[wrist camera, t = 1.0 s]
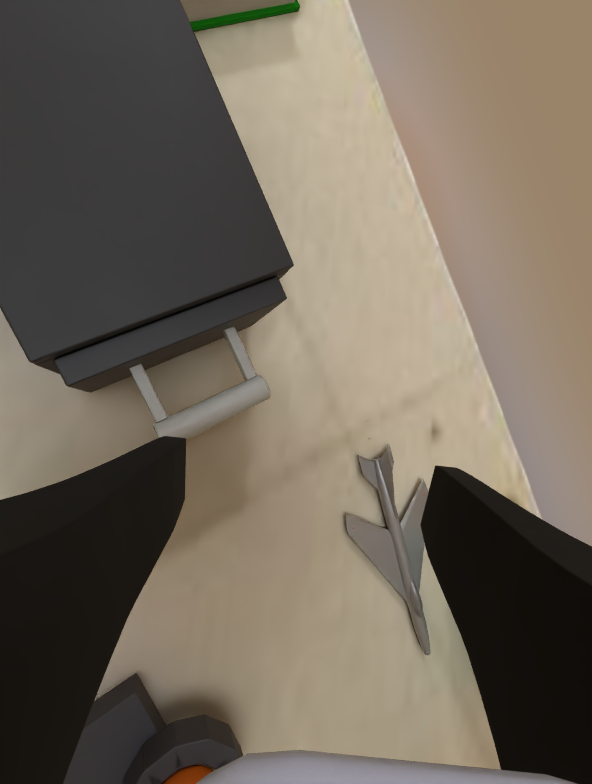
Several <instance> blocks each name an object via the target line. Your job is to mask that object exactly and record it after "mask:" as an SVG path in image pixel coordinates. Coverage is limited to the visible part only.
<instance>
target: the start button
mask: <svg viewBox="0 0 592 784" xmlns="http://www.w3.org/2000/svg"><path fill="white" fill-rule="evenodd" d="M211 772H213V770H212V769H210V768H209V767H207V766H204V765H191V766H187V767H184V768H182V769H180V770H178V771H176V772H175V773H174V774H172V775H171V776H170V777H169V778H168V779H167V780H166V781H165V782H164V783H163V784H196V783H197V782H199V781H200V780H201V779H202V778H204V777H205V776H206V775H207V774H209V773H211Z"/></svg>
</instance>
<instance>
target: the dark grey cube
mask: <svg viewBox="0 0 592 784" xmlns="http://www.w3.org/2000/svg"><path fill="white" fill-rule="evenodd" d="M292 266H293V262H292V259H291V257H290V255H289V252H288V250H287V248H286V245H285V243H284V241H283V238H282V236H281V234H280V231H279V229H278V227H277V224H276V222H275V220H274V217H273V215H272V213H271V210H270V208H269V206H268V203H267V201H266V199H265V197H264V194H263V192H262V190H261V187H260V185H259V183H258V180H257V178H256V176H255V173H254V171H253V169H252V166H251V164H250V162H249V159H248V157H247V155H246V152H245V150H244V148H243V145H242V143H241V141H240V138H239V136H238V134H237V131H236V129H235V127H234V124H233V122H232V120H231V117H230V115H229V113H228V110H227V108H226V106H225V103H224V101H223V99H222V96H221V94H220V92H219V89H218V87H217V85H216V82H215V80H214V78H213V76H212V73H211V71H210V69H209V66H208V64H207V62H206V59H205V57H204V55H203V52H202V50H201V48H200V45H199V43H198V41H197V38H196V36H195V34H194V31H193V29H192V27H191V24H190V22H189V20H188V17H187V15H186V13H185V10H184V8H183V6H182V3H181V1H180V0H0V308H1V310H2V312H3V314H4V316H5V318H6V319H7V321H8V323H9V325H10V327H11V329H12V331H13V332H14V334H15V336H16V338H17V340H18V342H19V344H20V345H21V347H22V349H23V351H24V353H25V355H26V357H27V358H28V360H29V361H30V362H31V363H34V364H36V365H38V366H40V367H43V368H46V369H48V370H51V371H53V372H56V373H58V374H60V372H59V371H58V369H57V367H56V365H55V363H54V359H56V358H58V357H61V356H64V355H66V354H69V353H72V352H75V351H77V350H80V349H83V348H85V347H88V346H91V345H93V344H96V343H99V342H101V341H104V340H107V339H109V338H112V337H115V336H117V335H120V334H123V333H125V332H128V331H131V330H134V329H136V328H139V327H142V326H144V325H147V324H150V323H152V322H155V321H158V320H160V319H163V318H166V317H168V316H171V315H174V314H176V313H179V312H182V311H184V310H187V309H190V308H193V307H195V306H198V305H201V304H203V303H206V302H209V301H211V300H214V299H217V298H219V297H222V296H225V295H227V294H230V293H233V292H235V291H238V290H241V289H244V288H246V287H249V286H252V285H254V284H257V283H260V282H262V281H265V280H268V279H270V278H273V277H278V279H280V278H281V277H282V276H283V275H285V274H286V273H287V272H288V270H289V269H290V268H291V267H292Z"/></svg>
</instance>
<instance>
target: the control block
mask: <svg viewBox="0 0 592 784" xmlns="http://www.w3.org/2000/svg"><path fill="white" fill-rule="evenodd" d="M242 756H243V753H242V749H241V746H240V745H239V743H238V741H237V739H236V737H235V735H234V733H233V731H232V730H231V728H230V726H229V725H228V724H226V723H224V722H221V721H219V720H216V719H214V718H211V717H209V716H207V715H200V716H196V717H191V718H186V719H182V720H177V721H174V722H172V723H170V724H169V725H168V726H167V727H166V725H165V723H164V721H163V719H162V718H161V716H160V714H159V712H158V710H157V709H156V707H155V705H154V703H153V702H152V700H151V698H150V696H149V694H148V693H147V691H146V689H145V687H144V686H143V684H142V682H141V680H140V678H139V677H138V675H137V674H134V675H133V676H131V677H130V678H128V679H127V680H126V681H124V682H123V683H121V684H120V685H118V686H117V687H115V688H114V689H112V690H111V691H110V692H108V693H107V694H105V695H104V696H102V697H101V698H99V699H98V700H97V701H95V702H94V703H93V704H92V707H91V710H90V712H89V715H88V718H87V720H86V723H85V726H84V728H83V731H82V734H81V736H80V739H79V742H78V744H77V747H76V750H75V752H74V755H73V758H72V760H71V763H70V766H69V769H68V772H67V774H66V777H65V780H64V783H63V784H163V783H164V782H165V781H166V780H167V779H168V778H169V777H170V776H171V775H172V774H174V773H175V772H176V771H178V770H180V769H182V768H184V767H187V766H191V765H195V764H199V763H202V764H205V765H208V766H211V767H213V768H216V769H218V768H220V767H222V766H224V765H226V764H228V763H230V762H232V761H234V760H236V759H238V758H240V757H242Z"/></svg>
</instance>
